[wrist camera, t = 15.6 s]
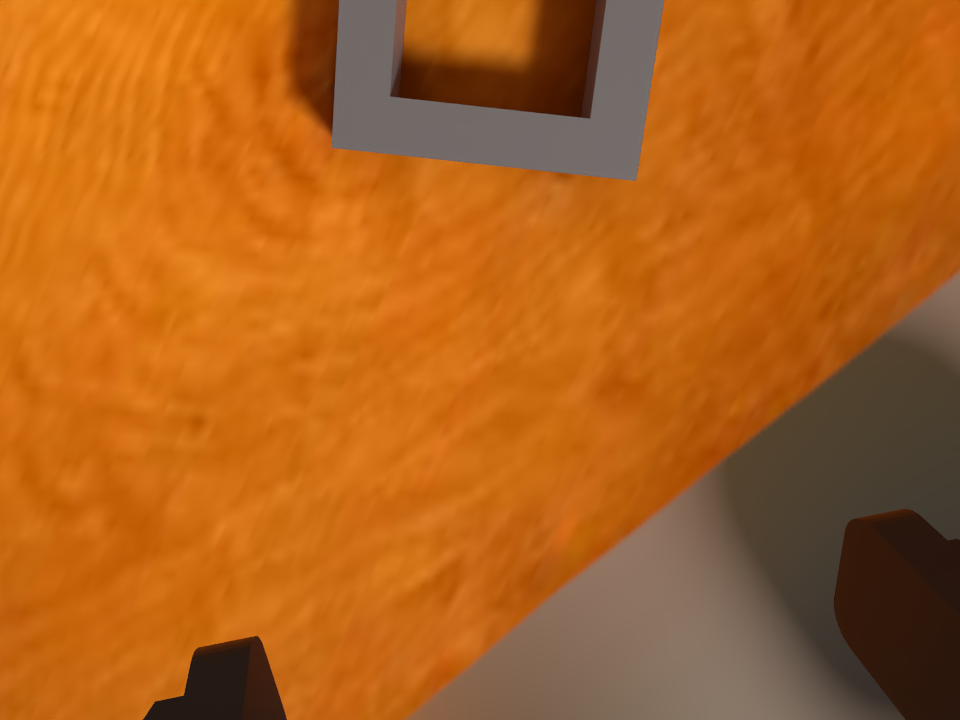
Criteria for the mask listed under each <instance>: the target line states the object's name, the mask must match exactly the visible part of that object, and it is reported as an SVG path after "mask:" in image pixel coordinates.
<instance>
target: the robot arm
mask: <svg viewBox="0 0 960 720" xmlns="http://www.w3.org/2000/svg"><path fill="white" fill-rule="evenodd" d="M834 610H835V616H836V620H837V622H838V626H839V628H840V631H841V633H842V635H843V637H844V639H845V641H846V642H847V644H848V645H849V647H850V648H851V650H852V651H853V652H854V654H855V655H856V656H857V657H858V659H859V660H860V661H861V663H862V664H863V665H864V666H865V668H866V669H867V670H868V672H869V673H870V674H871V676H872V677H873V678H874V679H875V681H876V682H877V683H878V685H879V686H880V687H881V689H882V690H883V691H884V692H885V694H886V695H887V696H888V698H889V699H890V700H891V701H892V703H893V704H894V705H895V707H896V708H897V709H898V711H899V712H900V713H901V714H902V716H903V717H904V718H905V720H960V540H958V539H955V540H949V541H947V540H946V539H945V538H944V537H943V536H942V535H941V534H940V533H939V532H938V531H937V530H935V529H934V528H933V527H932V526H931V525H930V524H929V523H928V522H927V521H926V520H925V519H923V518H922V517H921V516H920V515H919V514H917V513H916V512H914V511H912V510H909V509H901V510H897V511H891V512H886V513H881V514H876V515H871V516H866V517H861V518H856V519H853V520H851V521H850V522H849V523H848V524H847V527H846V530H845V535H844V540H843V546H842V553H841V559H840V565H839V571H838V577H837V584H836V590H835V595H834ZM143 720H287V719H286V715H285V711H284V708H283V705H282V702H281V699H280V696H279V693H278V690H277V687H276V684H275V681H274V677H273V674H272V671H271V668H270V665H269V662H268V659H267V656H266V653H265V650H264V647H263V644H262V642H261V640H260V638H259V637H258V636H254V637H249V638H244V639H239V640H234V641H229V642H224V643H219V644H214V645H209V646H204V647H199V648H197V649H196V650H195V652H194V654H193V657H192V660H191V665H190V669H189V674H188V679H187V684H186V688H185V693H184V696H180V697H176V698H171V699H166V700H161V701H156V702H155V703H154V704H153V706H152V707H151V709H150V710H149V712H148V713H147V715H146V716H145V718H144V719H143Z"/></svg>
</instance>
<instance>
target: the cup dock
mask: <svg viewBox="0 0 960 720" xmlns="http://www.w3.org/2000/svg"><path fill="white" fill-rule="evenodd" d="M406 1H407V0H339V14H338V34H337V53H336V72H335V92H334V111H333V130H332V148H339V149H348V150H357V151H366V152H376V153H385V154H394V155H403V156H412V157H422V158H431V159H440V160H449V161H458V162H468V163H477V164H486V165H495V166H504V167H514V168H523V169H532V170H541V171H550V172H560V173H569V174H578V175H587V176H596V177H605V178H615V179H624V180H633V181H636V178H637V172H638V165H639V159H640V152H641V146H642V139H643V133H644V127H645V120H646V114H647V107H648V101H649V94H650V88H651V81H652V75H653V69H654V62H655V56H656V49H657V43H658V36H659V30H660V23H661V17H662V11H663V4H664V0H596V7H595V14H594V22H593V29H592V37H591V44H590V52H589V59H588V67H587V74H586V82H585V89H584V97H583V104H582V112H581V118H580V117H571V116H562V115H553V114H543V113H534V112H525V111H516V110H507V109H498V108H489V107H480V106H471V105H462V104H453V103H444V102H435V101H426V100H417V99H408V98H399V96H400V83H401V69H402V55H403V42H404V28H405V14H406Z"/></svg>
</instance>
